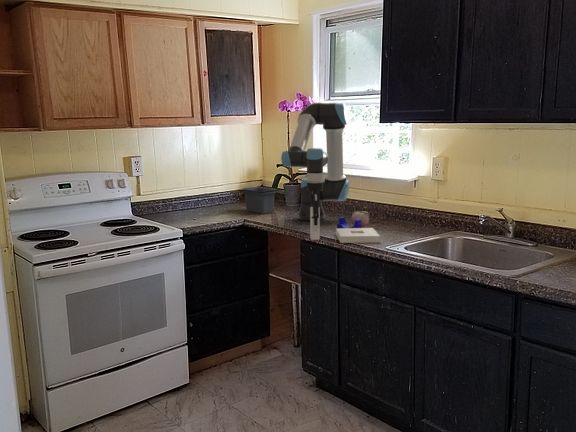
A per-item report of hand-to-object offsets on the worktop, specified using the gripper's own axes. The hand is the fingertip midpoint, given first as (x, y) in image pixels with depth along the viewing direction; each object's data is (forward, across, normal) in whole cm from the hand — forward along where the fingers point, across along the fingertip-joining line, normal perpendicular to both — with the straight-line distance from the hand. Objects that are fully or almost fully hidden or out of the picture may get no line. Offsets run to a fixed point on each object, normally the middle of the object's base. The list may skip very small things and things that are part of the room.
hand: (314, 229), depth 260 cm
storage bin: (+5, -77, -27) cm, 82 cm away
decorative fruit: (+5, -23, +25) cm, 34 cm away
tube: (+5, 0, 0) cm, 5 cm away
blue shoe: (+5, -19, +19) cm, 27 cm away
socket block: (+4, 0, +20) cm, 20 cm away
